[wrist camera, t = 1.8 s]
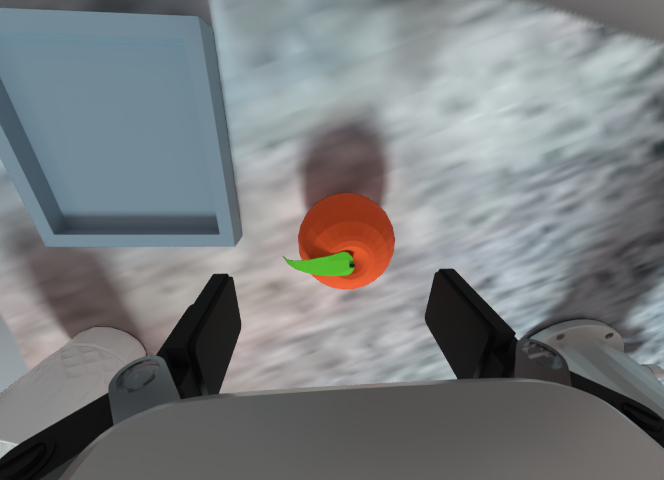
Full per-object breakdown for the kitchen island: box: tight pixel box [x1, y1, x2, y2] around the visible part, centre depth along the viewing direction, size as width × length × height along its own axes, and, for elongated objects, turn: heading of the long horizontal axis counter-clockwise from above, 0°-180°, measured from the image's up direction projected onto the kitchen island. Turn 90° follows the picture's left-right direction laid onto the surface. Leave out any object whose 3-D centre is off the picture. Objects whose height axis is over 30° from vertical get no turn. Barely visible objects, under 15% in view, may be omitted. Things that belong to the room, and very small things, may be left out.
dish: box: [0, 8, 242, 247], centre depth 17 cm, size 14×14×2 cm
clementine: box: [283, 193, 395, 289], centre depth 18 cm, size 8×7×7 cm
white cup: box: [0, 327, 146, 458], centre depth 21 cm, size 8×8×10 cm
